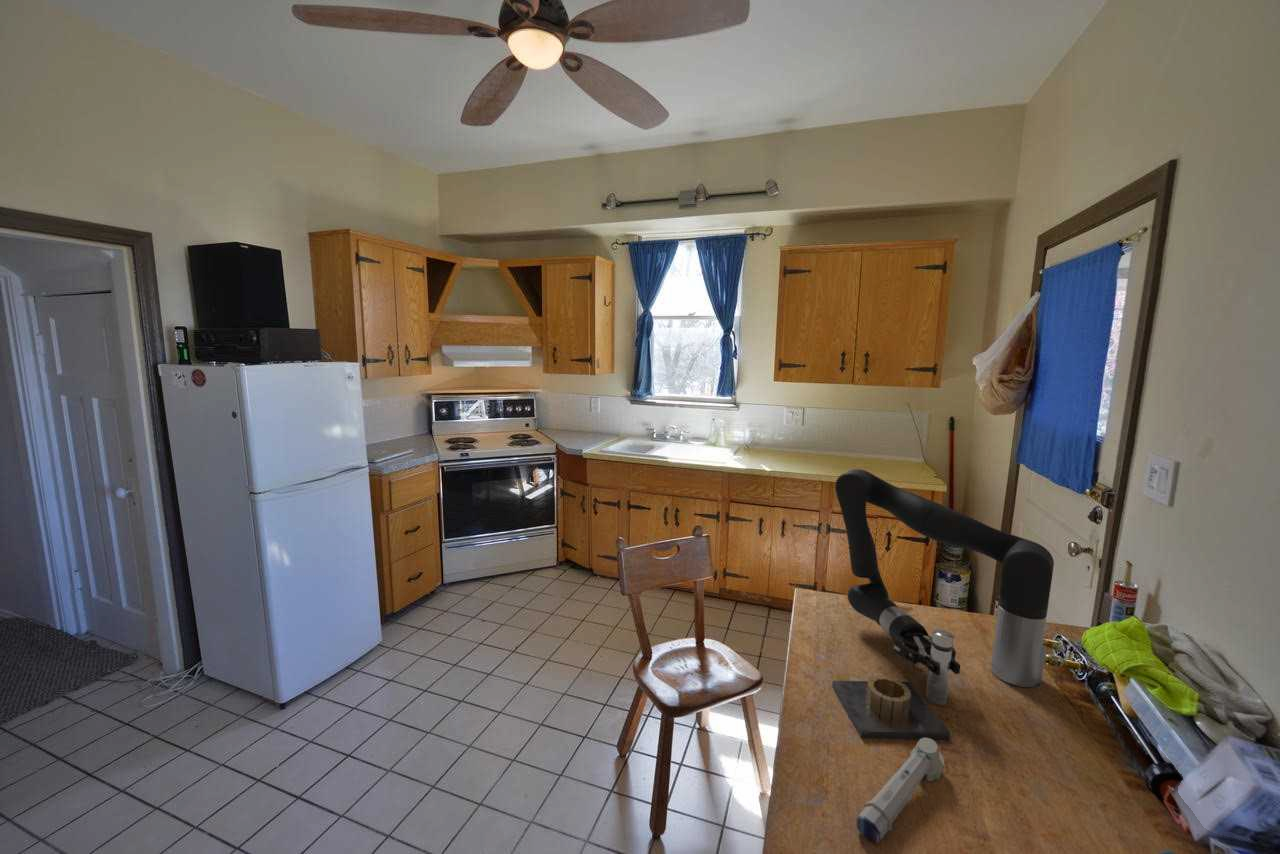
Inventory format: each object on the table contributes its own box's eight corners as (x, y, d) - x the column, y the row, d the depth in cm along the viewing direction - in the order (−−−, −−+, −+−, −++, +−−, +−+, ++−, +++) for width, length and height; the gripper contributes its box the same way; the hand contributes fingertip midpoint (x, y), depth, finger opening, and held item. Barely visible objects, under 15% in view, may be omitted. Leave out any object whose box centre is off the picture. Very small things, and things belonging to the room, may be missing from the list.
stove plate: (908, 687, 120) (911, 666, 119) (949, 739, 104) (952, 714, 103) (832, 686, 120) (833, 665, 119) (861, 738, 104) (863, 713, 103)
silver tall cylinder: (939, 693, 118) (946, 629, 115) (950, 705, 114) (958, 639, 111) (921, 693, 118) (928, 628, 115) (931, 705, 114) (939, 639, 111)
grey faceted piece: (851, 808, 84) (920, 722, 98) (851, 840, 85) (919, 751, 100) (883, 832, 80) (950, 739, 94) (882, 865, 81) (948, 768, 96)
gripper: (876, 615, 127) (919, 656, 110) (930, 613, 128) (981, 653, 112) (874, 643, 128) (916, 687, 111) (927, 640, 130) (977, 685, 113)
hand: (948, 670), depth 112 cm, fingers closed on silver tall cylinder, 4 cm apart
